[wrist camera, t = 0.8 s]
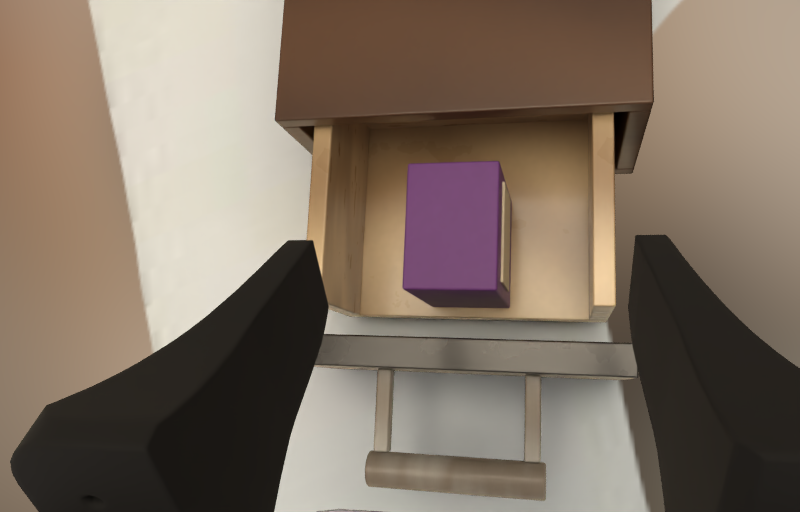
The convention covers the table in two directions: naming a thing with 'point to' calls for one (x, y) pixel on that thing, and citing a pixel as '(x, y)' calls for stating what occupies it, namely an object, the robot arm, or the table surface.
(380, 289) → the drawer
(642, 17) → the drawer unit
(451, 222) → the snack box
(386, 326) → the table surface
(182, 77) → the table surface
